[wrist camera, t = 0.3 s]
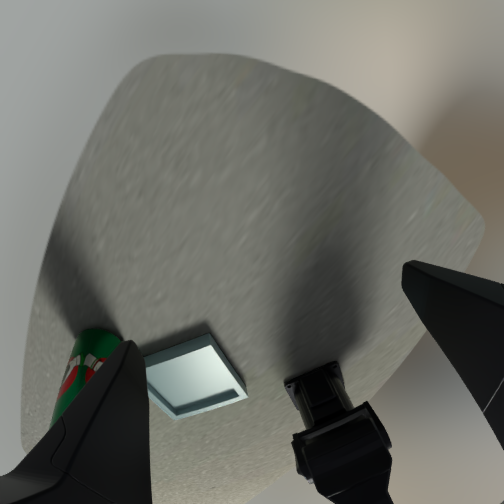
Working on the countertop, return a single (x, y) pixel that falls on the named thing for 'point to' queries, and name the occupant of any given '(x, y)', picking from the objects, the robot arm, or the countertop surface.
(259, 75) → the countertop surface
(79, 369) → the soda can
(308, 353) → the countertop surface
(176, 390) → the tray
